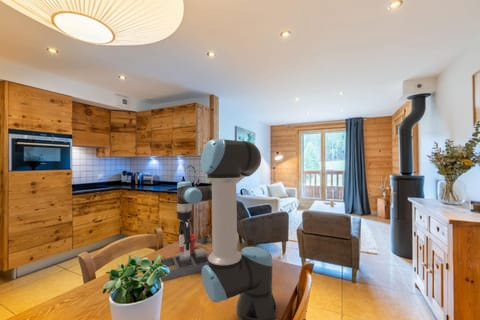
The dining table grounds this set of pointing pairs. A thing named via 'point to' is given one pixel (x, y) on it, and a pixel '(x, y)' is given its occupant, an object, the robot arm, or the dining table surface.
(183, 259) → the block
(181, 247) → the flower pot
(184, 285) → the dining table surface
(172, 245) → the dining table surface
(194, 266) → the grey compartment tray
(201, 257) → the seated nut
